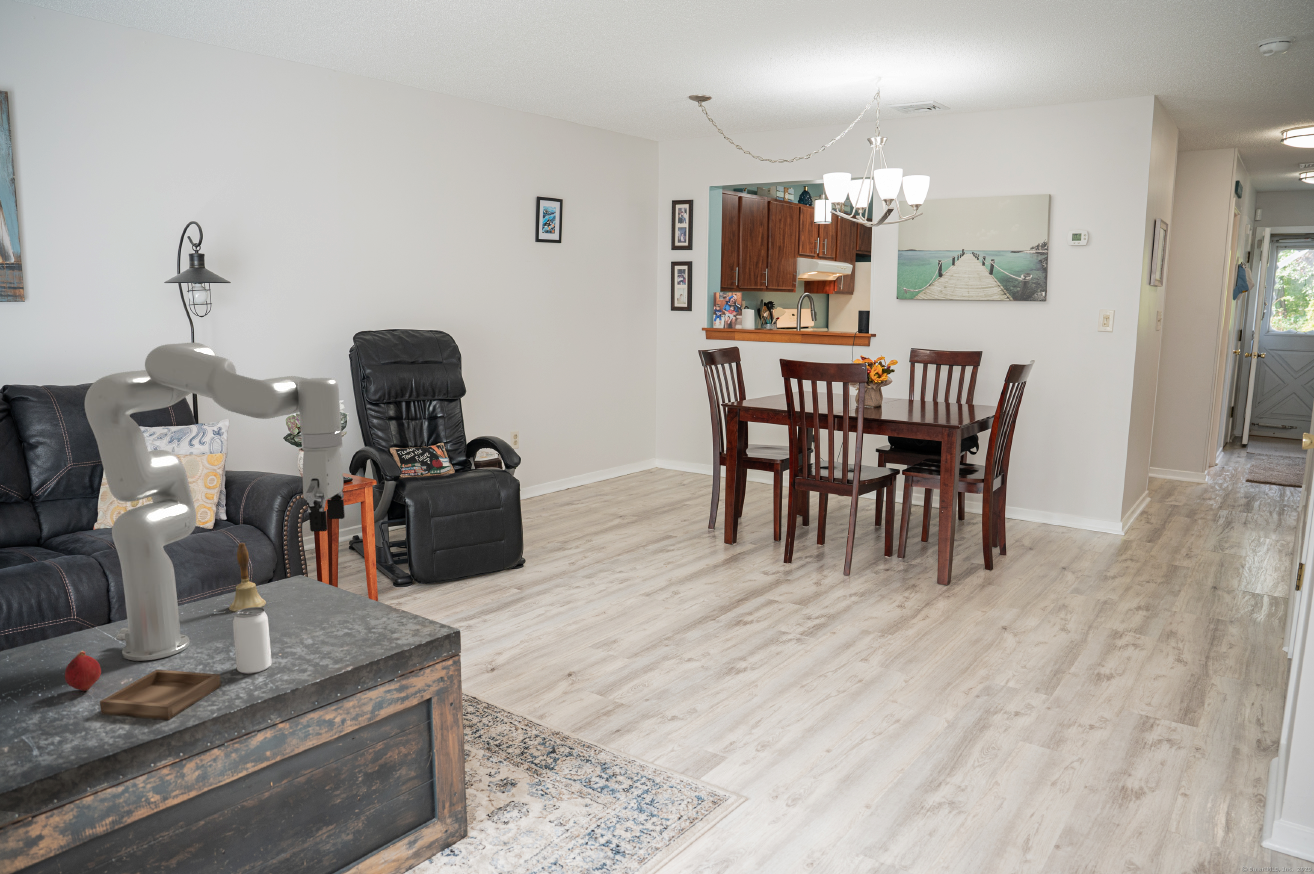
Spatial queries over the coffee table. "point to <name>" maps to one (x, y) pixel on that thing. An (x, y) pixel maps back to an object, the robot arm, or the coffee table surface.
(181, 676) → the tray
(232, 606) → the hand bell
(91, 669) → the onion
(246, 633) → the can
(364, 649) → the coffee table surface
